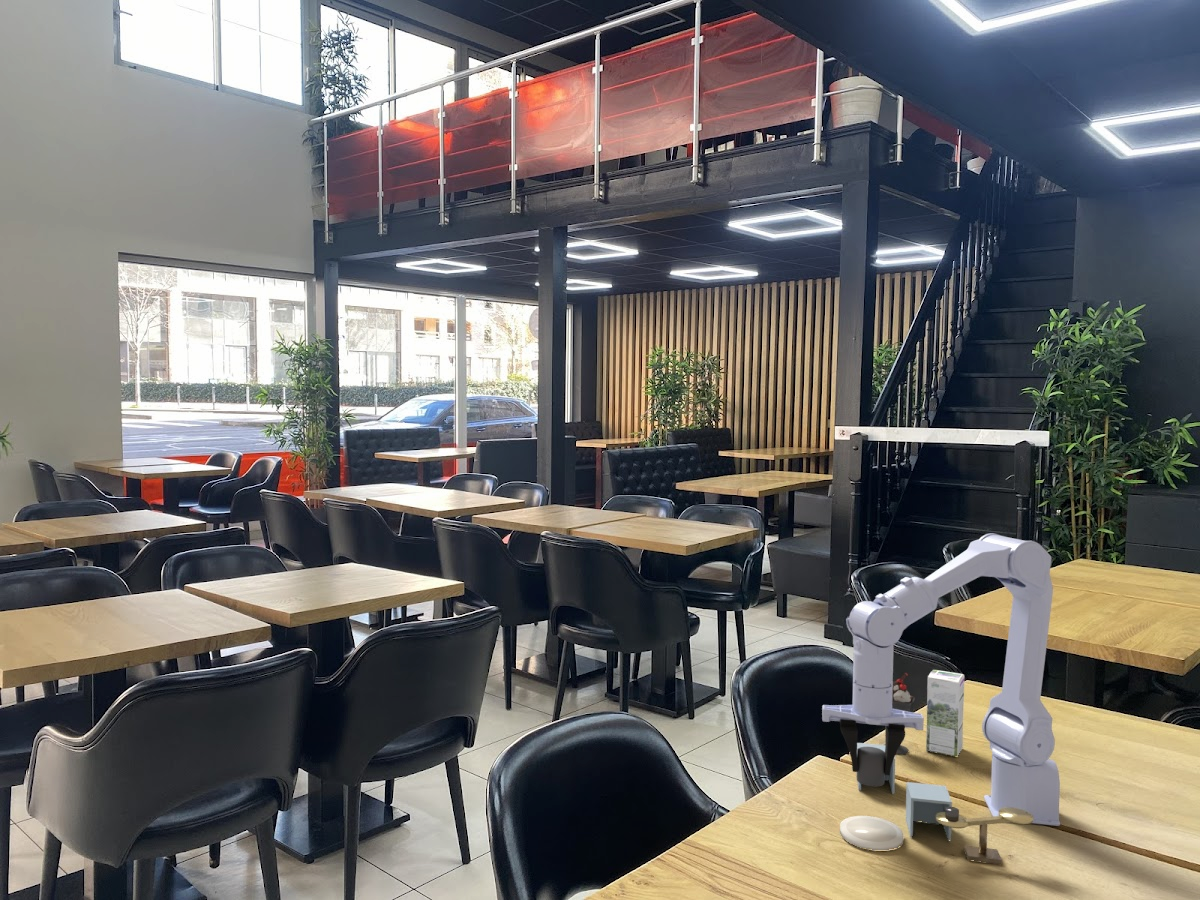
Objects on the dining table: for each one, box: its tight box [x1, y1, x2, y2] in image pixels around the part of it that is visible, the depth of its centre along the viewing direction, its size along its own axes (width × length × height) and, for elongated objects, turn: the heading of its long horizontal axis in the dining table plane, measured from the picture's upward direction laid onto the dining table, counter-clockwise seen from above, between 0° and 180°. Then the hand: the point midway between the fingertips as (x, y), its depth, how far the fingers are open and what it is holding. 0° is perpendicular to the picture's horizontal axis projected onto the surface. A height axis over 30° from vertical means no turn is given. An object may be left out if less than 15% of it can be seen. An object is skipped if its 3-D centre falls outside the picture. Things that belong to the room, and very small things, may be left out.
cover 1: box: [855, 742, 896, 795], centre depth 145 cm, size 6×6×6 cm
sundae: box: [883, 672, 916, 755], centre depth 161 cm, size 7×7×15 cm
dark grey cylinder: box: [856, 747, 885, 788], centre depth 129 cm, size 4×4×4 cm
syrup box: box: [925, 669, 965, 757], centre depth 160 cm, size 6×6×14 cm
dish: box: [839, 815, 904, 850], centre depth 127 cm, size 9×9×1 cm
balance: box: [936, 806, 1033, 866], centre depth 121 cm, size 13×4×7 cm, turn 77°
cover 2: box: [905, 781, 953, 842], centre depth 129 cm, size 6×6×6 cm
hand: (870, 771), depth 129 cm, fingers closed on dark grey cylinder, 4 cm apart
